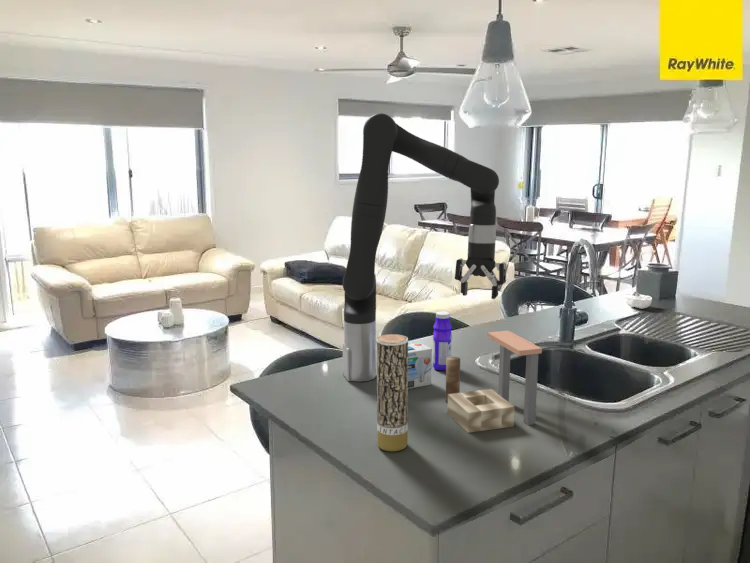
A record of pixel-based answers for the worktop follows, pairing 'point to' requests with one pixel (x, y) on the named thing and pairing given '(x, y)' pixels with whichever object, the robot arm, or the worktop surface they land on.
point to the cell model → (638, 300)
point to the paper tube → (392, 392)
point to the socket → (480, 410)
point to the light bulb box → (419, 365)
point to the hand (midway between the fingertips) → (479, 296)
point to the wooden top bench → (531, 351)
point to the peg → (452, 376)
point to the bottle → (441, 340)
